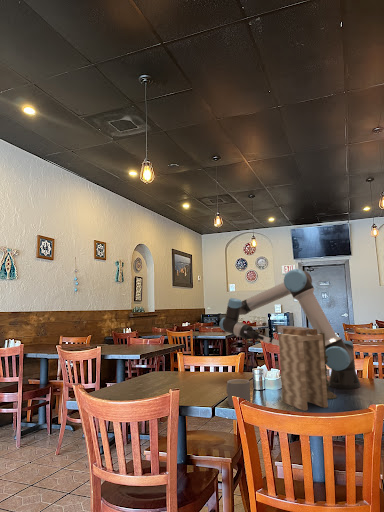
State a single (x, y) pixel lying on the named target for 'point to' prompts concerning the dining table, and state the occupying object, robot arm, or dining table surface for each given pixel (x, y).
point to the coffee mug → (238, 389)
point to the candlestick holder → (329, 394)
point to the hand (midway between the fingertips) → (276, 342)
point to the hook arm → (280, 328)
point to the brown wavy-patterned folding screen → (302, 368)
